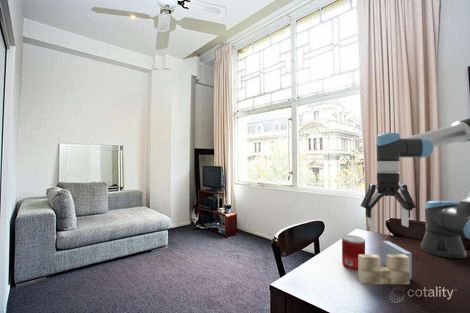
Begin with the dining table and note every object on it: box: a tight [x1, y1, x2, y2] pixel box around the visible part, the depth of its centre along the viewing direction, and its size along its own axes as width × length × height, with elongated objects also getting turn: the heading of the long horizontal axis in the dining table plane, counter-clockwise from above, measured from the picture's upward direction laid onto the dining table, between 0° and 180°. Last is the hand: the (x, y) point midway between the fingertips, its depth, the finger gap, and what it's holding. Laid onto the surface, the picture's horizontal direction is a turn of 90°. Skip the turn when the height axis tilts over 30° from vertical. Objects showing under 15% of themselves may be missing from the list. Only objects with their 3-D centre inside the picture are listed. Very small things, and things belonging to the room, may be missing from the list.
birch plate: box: [357, 253, 411, 285], centre depth 78 cm, size 16×2×9 cm, turn 90°
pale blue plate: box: [382, 240, 413, 280], centre depth 86 cm, size 12×2×9 cm, turn 0°
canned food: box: [341, 234, 366, 272], centre depth 89 cm, size 8×8×11 cm
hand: (387, 225), depth 90 cm, fingers open, 13 cm apart
